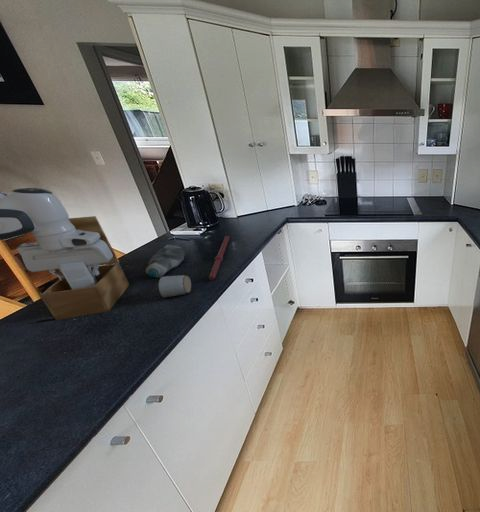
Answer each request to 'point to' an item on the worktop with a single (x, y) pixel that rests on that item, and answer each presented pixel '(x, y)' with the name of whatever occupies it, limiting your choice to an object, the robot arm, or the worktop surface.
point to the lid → (93, 226)
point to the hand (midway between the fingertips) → (80, 277)
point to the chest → (86, 294)
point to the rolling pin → (219, 258)
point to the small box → (78, 275)
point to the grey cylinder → (174, 285)
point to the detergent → (165, 260)
